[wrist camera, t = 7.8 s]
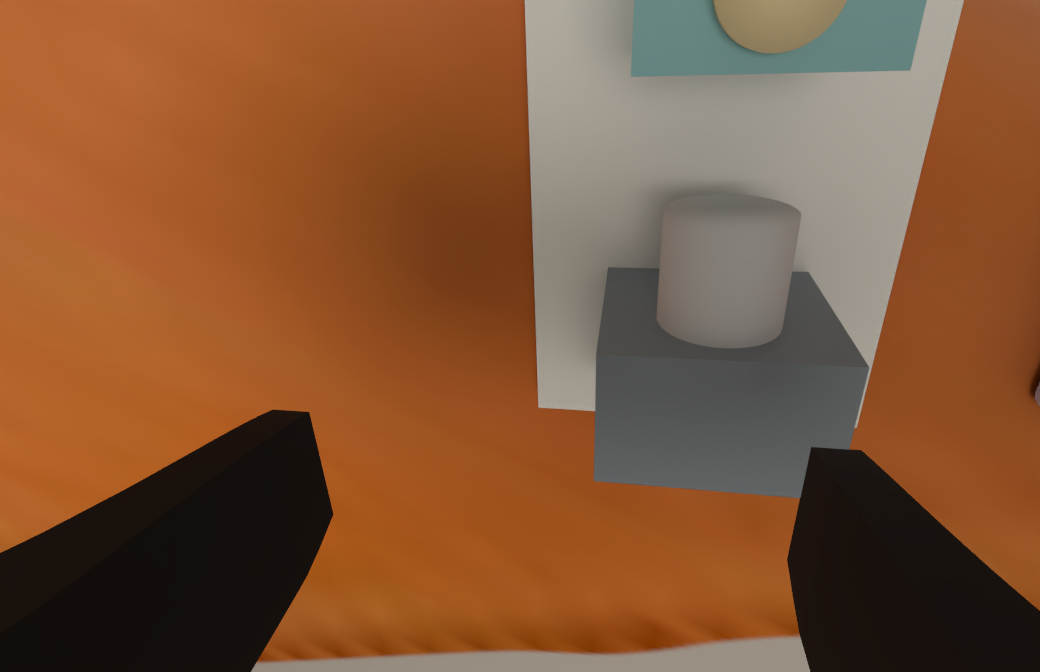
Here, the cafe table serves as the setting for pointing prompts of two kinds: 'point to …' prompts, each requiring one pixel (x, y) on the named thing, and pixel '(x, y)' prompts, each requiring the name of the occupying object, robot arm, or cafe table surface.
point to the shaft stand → (715, 246)
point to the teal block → (773, 36)
